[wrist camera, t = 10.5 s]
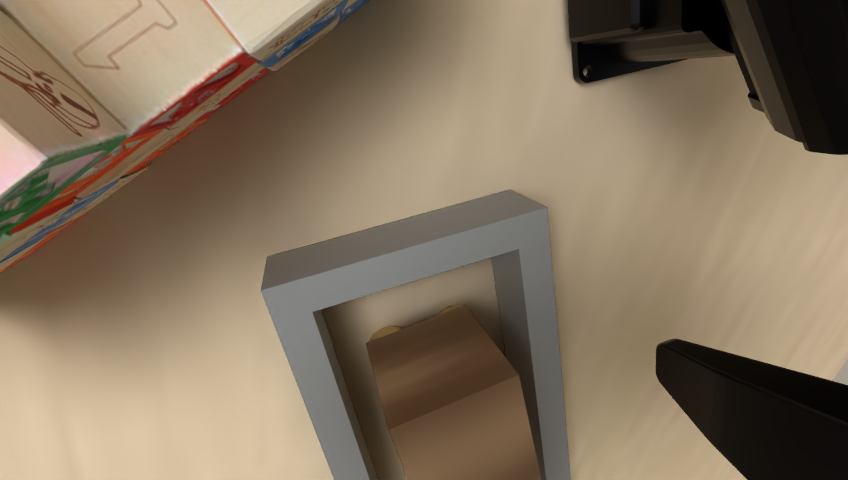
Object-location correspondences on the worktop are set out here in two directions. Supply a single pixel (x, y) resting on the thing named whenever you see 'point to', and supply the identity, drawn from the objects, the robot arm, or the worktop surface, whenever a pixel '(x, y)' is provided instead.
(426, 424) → the board
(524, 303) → the frame
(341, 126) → the worktop surface
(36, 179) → the stack of blocks
